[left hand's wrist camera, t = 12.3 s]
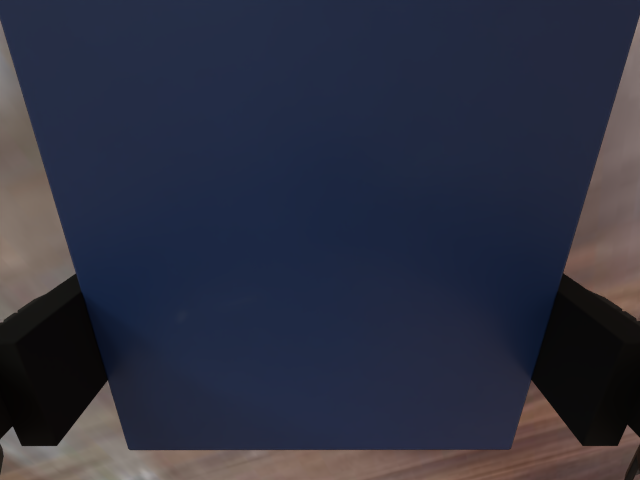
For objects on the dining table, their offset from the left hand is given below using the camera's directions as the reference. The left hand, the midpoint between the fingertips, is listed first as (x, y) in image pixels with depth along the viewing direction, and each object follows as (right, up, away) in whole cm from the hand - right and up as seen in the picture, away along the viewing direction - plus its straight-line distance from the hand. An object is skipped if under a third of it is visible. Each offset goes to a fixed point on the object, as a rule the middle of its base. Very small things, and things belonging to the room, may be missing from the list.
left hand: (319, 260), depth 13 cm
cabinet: (0, +6, +5) cm, 7 cm away
